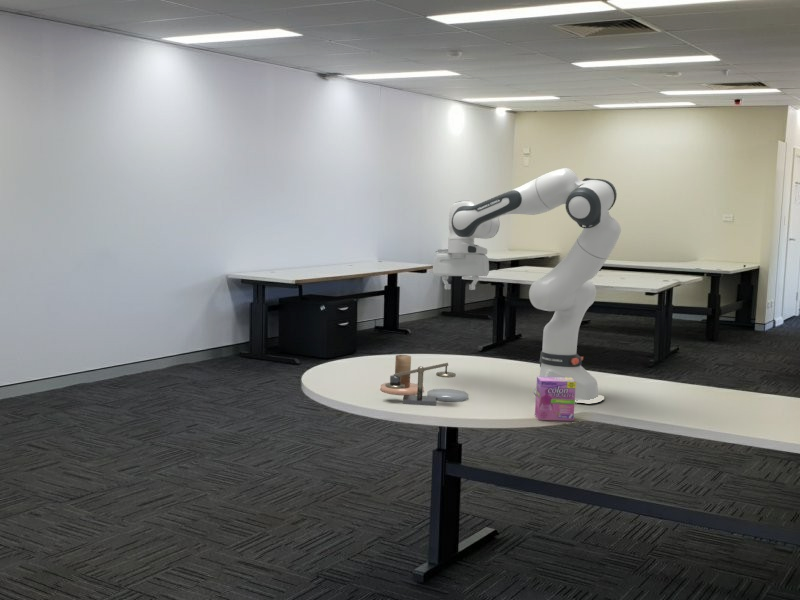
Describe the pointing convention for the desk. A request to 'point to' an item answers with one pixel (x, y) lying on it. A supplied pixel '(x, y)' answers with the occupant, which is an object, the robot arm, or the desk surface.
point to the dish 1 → (401, 390)
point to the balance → (418, 398)
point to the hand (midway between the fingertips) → (459, 289)
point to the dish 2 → (448, 395)
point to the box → (555, 398)
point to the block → (403, 368)
